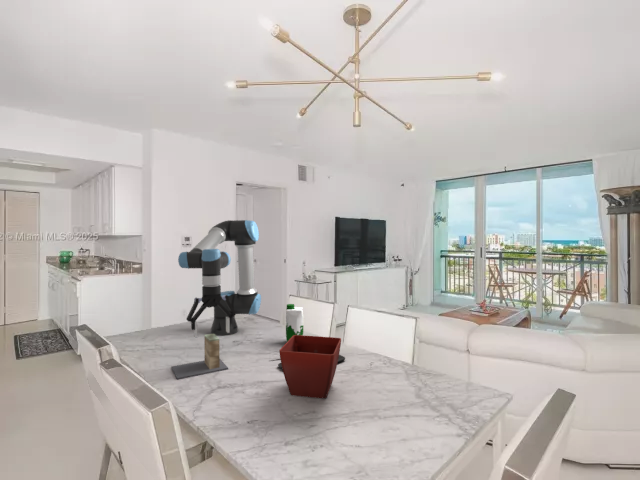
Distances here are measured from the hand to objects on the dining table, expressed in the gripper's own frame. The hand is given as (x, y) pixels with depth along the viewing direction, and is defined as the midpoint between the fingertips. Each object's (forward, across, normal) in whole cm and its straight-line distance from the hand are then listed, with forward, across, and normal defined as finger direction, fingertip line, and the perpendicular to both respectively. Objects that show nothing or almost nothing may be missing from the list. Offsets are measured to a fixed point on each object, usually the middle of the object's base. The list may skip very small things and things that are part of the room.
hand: (212, 334), depth 149 cm
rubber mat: (+13, +5, +1) cm, 14 cm away
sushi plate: (+14, -37, +13) cm, 41 cm away
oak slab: (+13, 0, 0) cm, 13 cm away
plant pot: (+13, -25, +43) cm, 51 cm away
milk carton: (+14, -45, -9) cm, 48 cm away
